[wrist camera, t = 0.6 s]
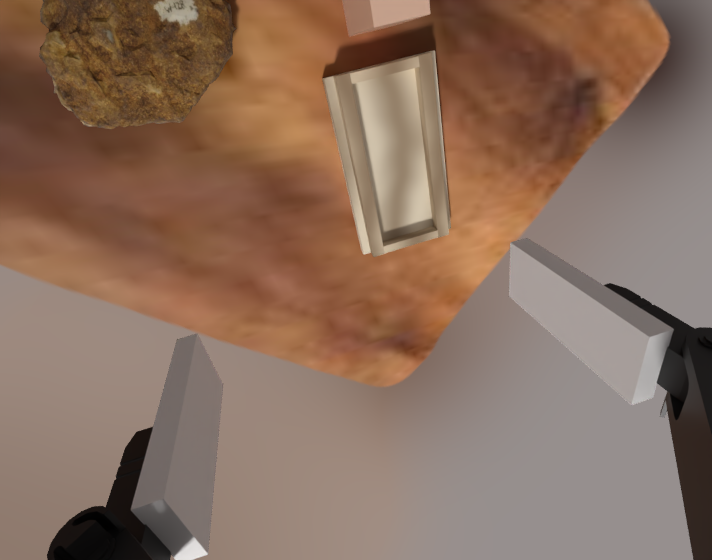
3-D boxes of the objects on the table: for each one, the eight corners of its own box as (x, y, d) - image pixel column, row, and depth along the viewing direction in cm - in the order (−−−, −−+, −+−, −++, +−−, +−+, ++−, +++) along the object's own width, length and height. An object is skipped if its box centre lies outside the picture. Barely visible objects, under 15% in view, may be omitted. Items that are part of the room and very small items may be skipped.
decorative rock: (166, 166, 34) (257, 10, 31) (160, 177, 31) (262, 3, 28) (13, 76, 29) (105, -127, 25) (-15, 77, 25) (87, -157, 22)
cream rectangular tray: (361, 250, 42) (366, 259, 40) (322, 78, 33) (326, 78, 31) (447, 225, 43) (455, 232, 41) (430, 50, 34) (440, 49, 32)
